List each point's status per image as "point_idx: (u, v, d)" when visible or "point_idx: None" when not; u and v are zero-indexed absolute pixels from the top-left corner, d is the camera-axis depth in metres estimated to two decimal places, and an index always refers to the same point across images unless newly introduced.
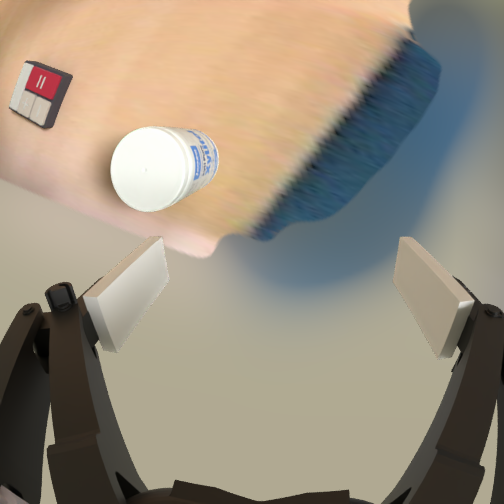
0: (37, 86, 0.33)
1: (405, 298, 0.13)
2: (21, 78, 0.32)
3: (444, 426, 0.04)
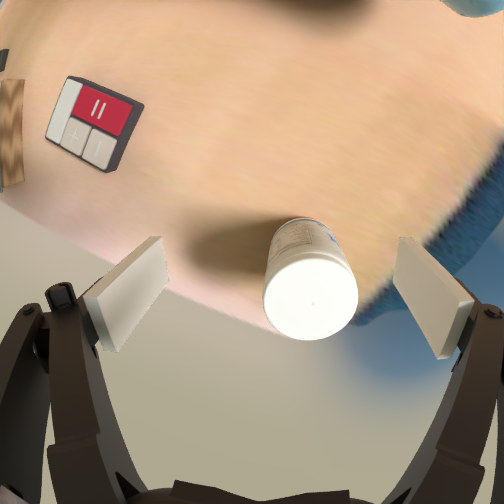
0: (92, 115, 0.31)
1: (405, 298, 0.13)
2: (63, 100, 0.30)
3: (444, 426, 0.04)
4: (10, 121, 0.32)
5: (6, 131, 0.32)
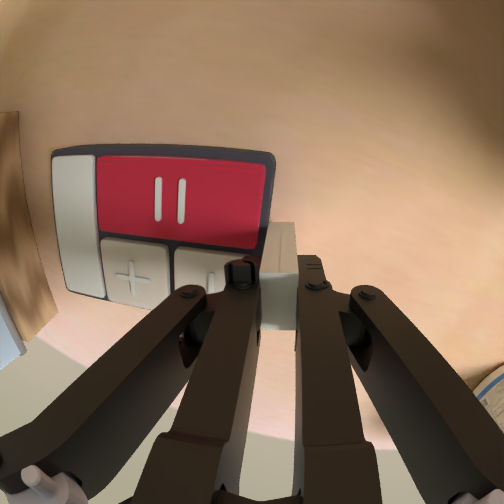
0: (159, 220, 0.15)
1: None
2: (66, 206, 0.15)
3: (302, 418, 0.05)
4: (2, 209, 0.17)
5: None
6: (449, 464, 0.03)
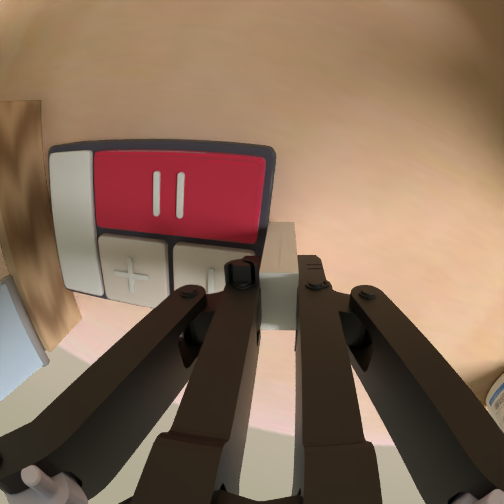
0: (158, 215, 0.15)
1: None
2: (64, 203, 0.15)
3: (302, 418, 0.05)
4: (22, 207, 0.16)
5: (18, 234, 0.16)
6: (449, 464, 0.03)
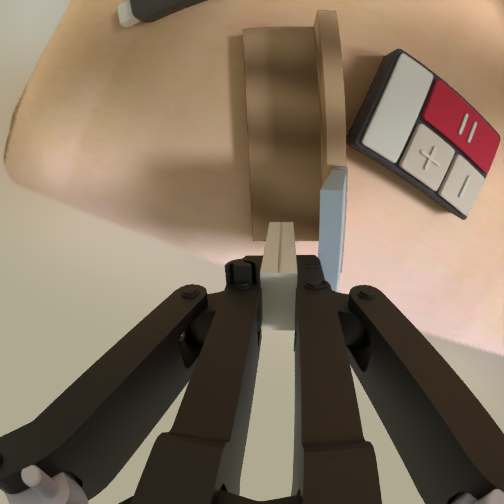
0: (461, 134, 0.19)
1: None
2: (403, 87, 0.18)
3: (301, 418, 0.05)
4: None
5: None
6: (448, 464, 0.03)
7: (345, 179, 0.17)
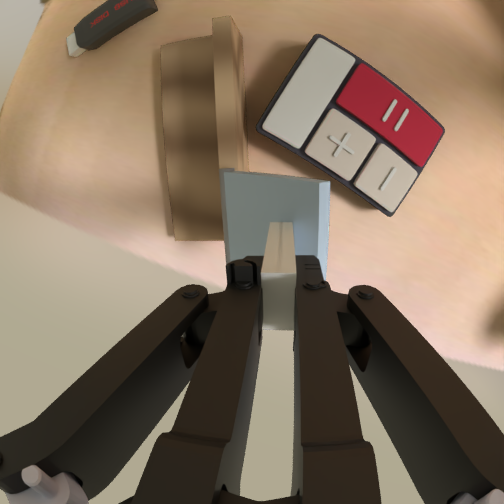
0: (384, 121, 0.20)
1: None
2: (314, 72, 0.19)
3: (300, 418, 0.05)
4: (240, 112, 0.22)
5: (239, 133, 0.22)
6: (448, 464, 0.03)
7: None
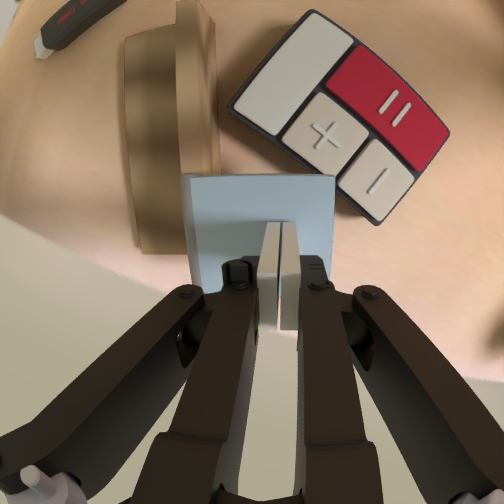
0: (381, 113, 0.17)
1: None
2: (303, 49, 0.16)
3: (304, 418, 0.05)
4: (208, 107, 0.18)
5: (205, 131, 0.18)
6: (450, 464, 0.03)
7: None
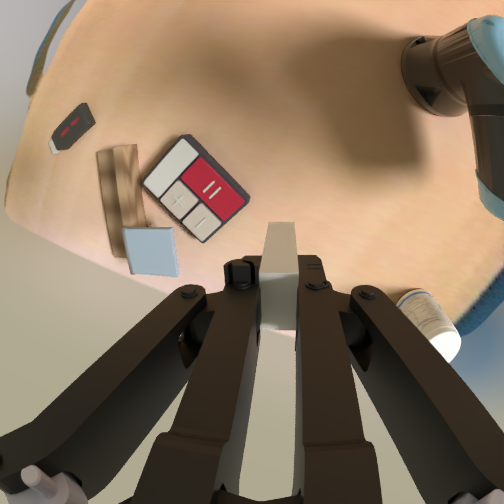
0: (204, 192, 0.43)
1: None
2: (173, 159, 0.41)
3: (302, 418, 0.05)
4: (133, 195, 0.44)
5: (131, 207, 0.44)
6: (449, 464, 0.03)
7: None
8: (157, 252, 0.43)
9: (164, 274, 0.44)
